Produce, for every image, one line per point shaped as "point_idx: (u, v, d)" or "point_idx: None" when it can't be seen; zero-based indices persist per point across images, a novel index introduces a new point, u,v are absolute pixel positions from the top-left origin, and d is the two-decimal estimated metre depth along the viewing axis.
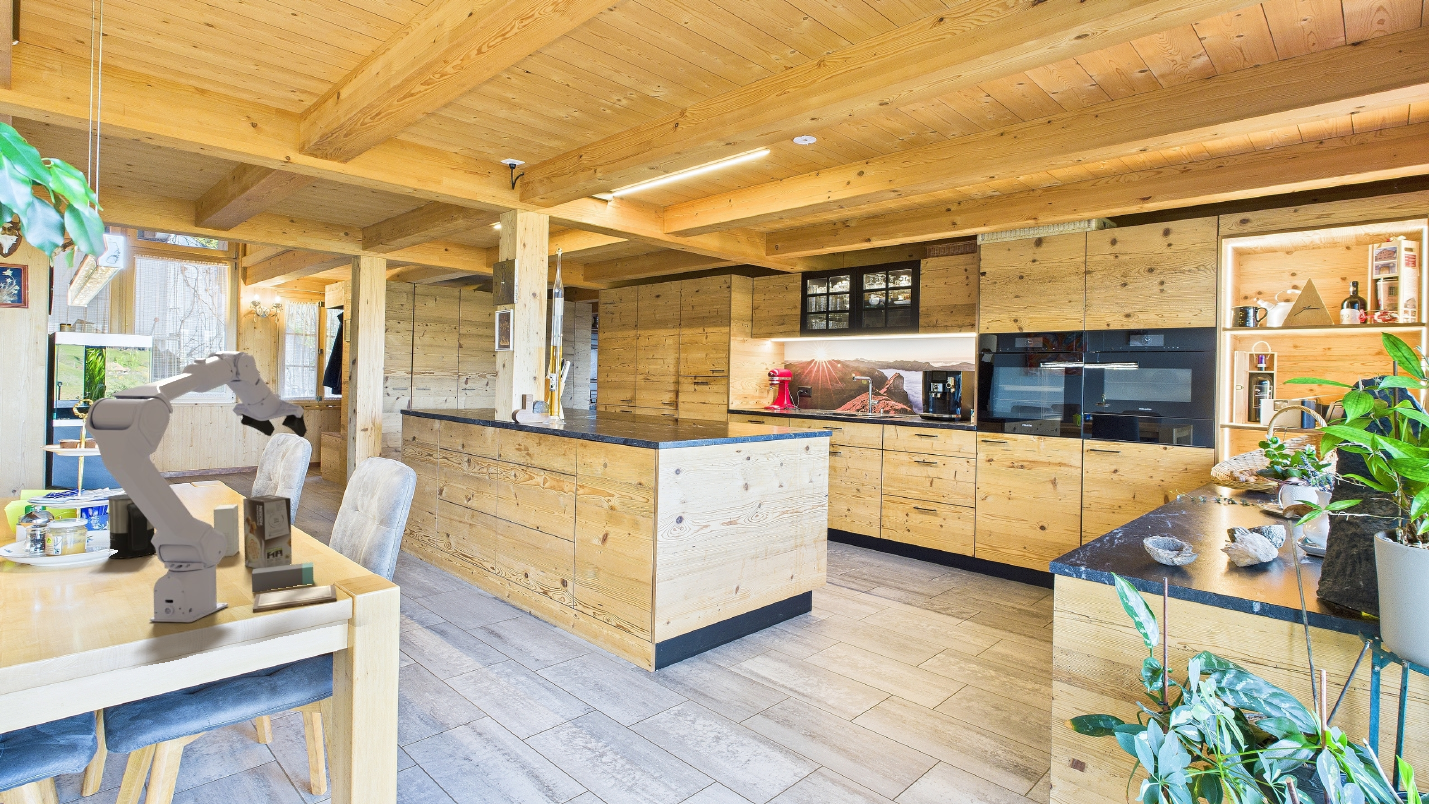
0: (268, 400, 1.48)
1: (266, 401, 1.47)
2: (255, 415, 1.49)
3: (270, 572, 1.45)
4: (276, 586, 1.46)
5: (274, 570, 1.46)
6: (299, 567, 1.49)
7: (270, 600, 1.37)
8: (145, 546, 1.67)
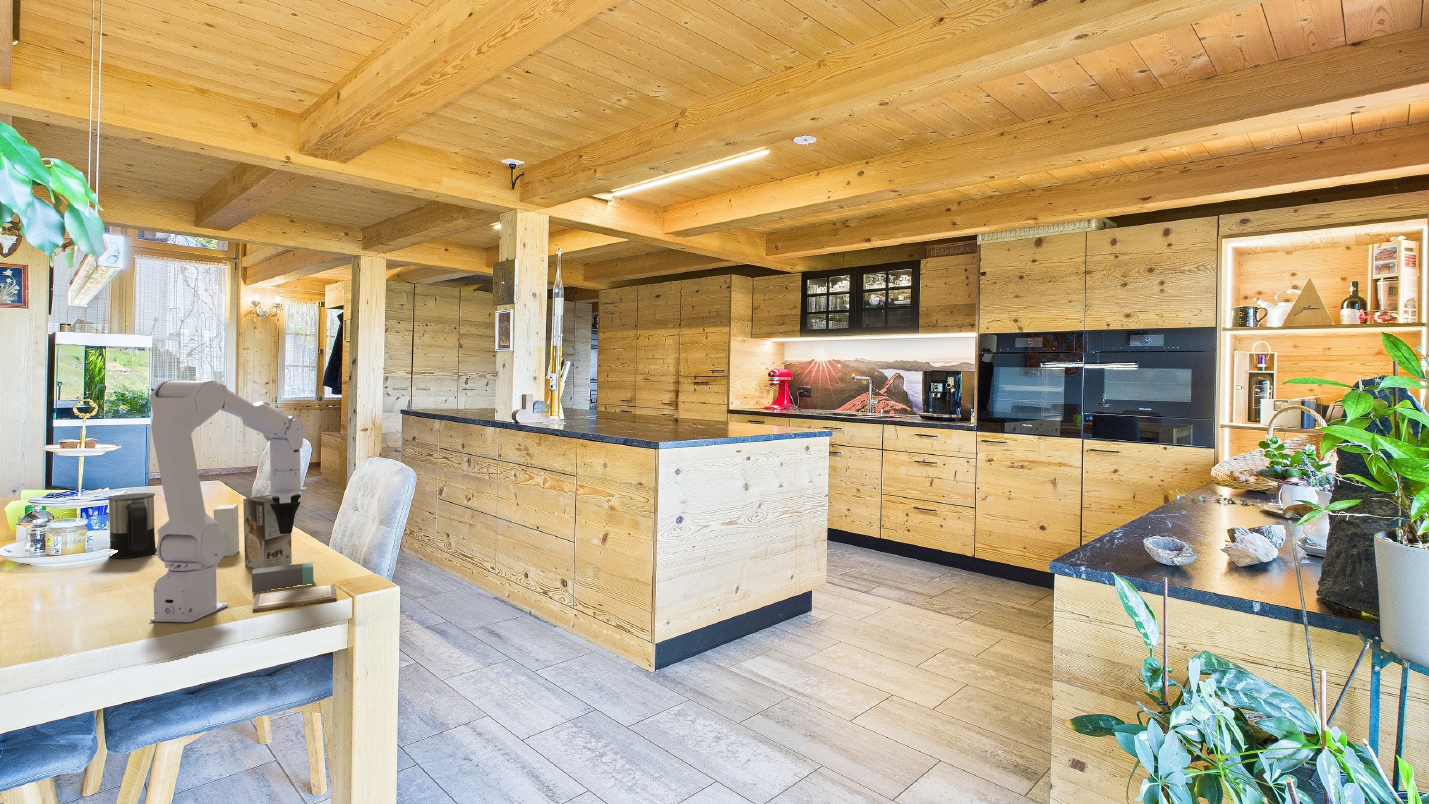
0: (281, 475, 1.52)
1: (278, 474, 1.52)
2: None
3: (270, 572, 1.45)
4: (276, 586, 1.46)
5: (274, 570, 1.46)
6: (299, 567, 1.49)
7: (270, 600, 1.37)
8: (145, 546, 1.67)
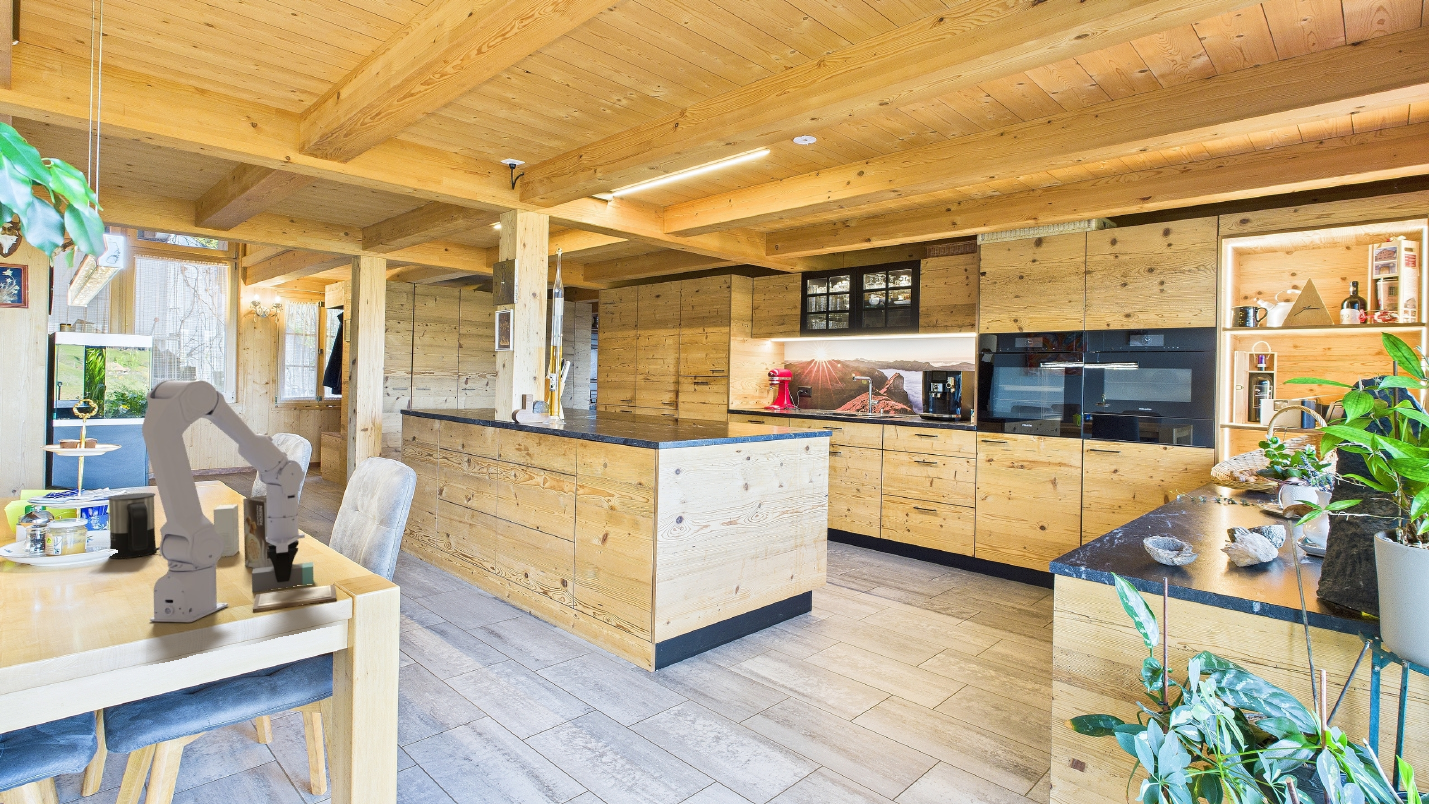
0: (278, 522, 1.45)
1: (275, 521, 1.45)
2: None
3: (270, 572, 1.45)
4: (276, 586, 1.46)
5: None
6: (299, 567, 1.49)
7: (270, 600, 1.37)
8: (145, 546, 1.67)
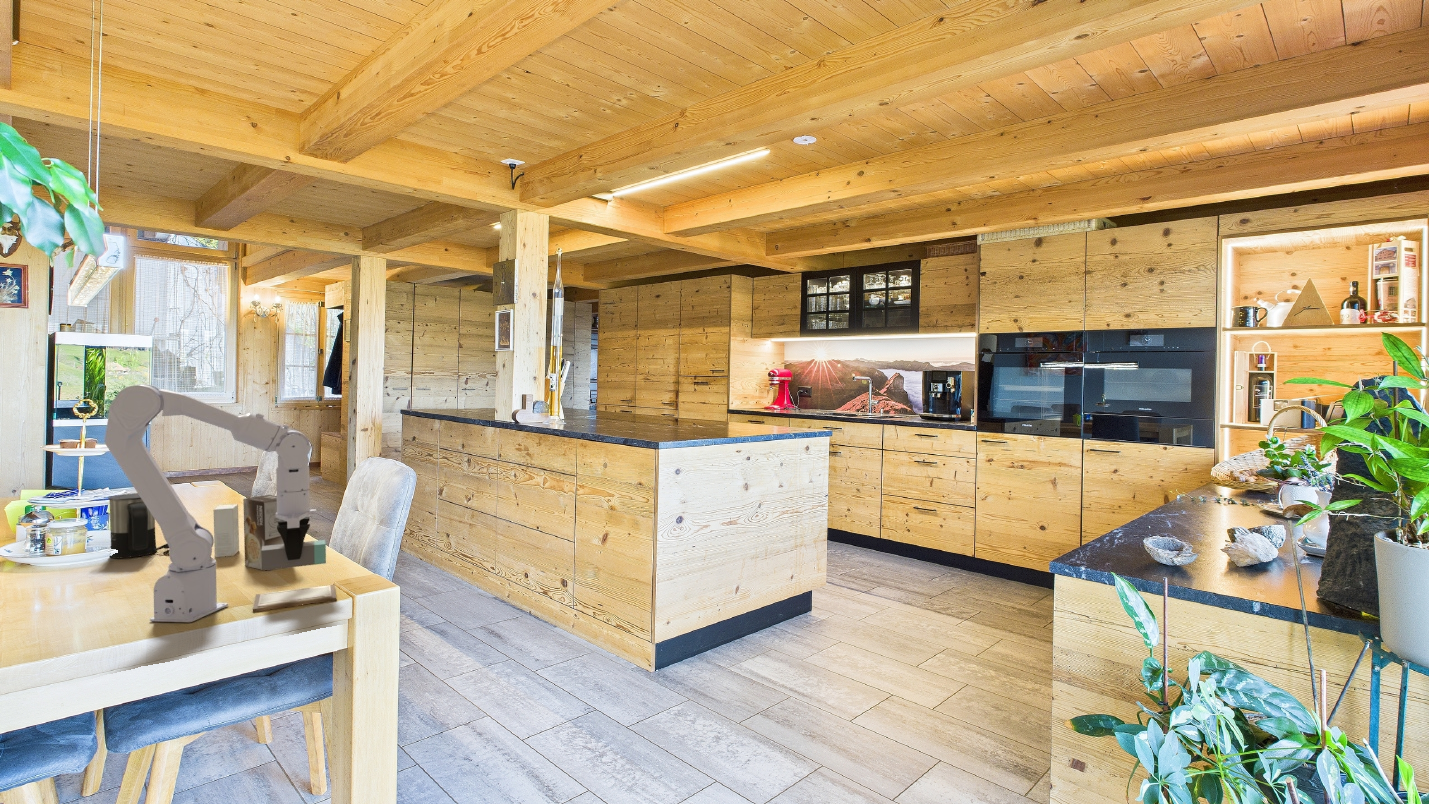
0: (288, 496, 1.37)
1: (286, 496, 1.37)
2: None
3: (280, 549, 1.38)
4: (287, 564, 1.38)
5: None
6: (311, 544, 1.41)
7: (270, 600, 1.37)
8: (145, 546, 1.67)
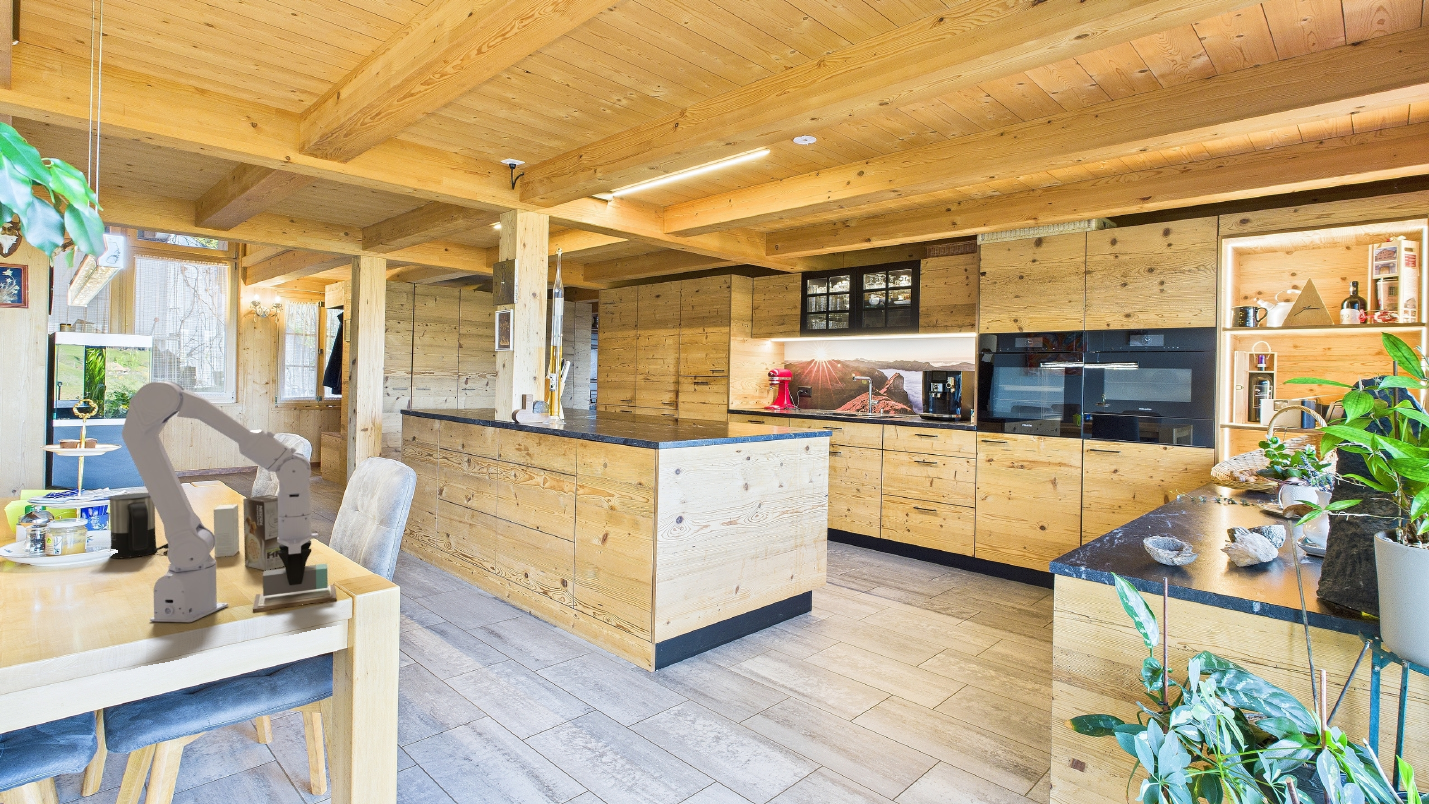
0: (290, 521, 1.37)
1: (287, 521, 1.37)
2: None
3: (282, 574, 1.37)
4: (288, 589, 1.38)
5: None
6: (312, 569, 1.40)
7: (270, 600, 1.37)
8: (146, 546, 1.68)
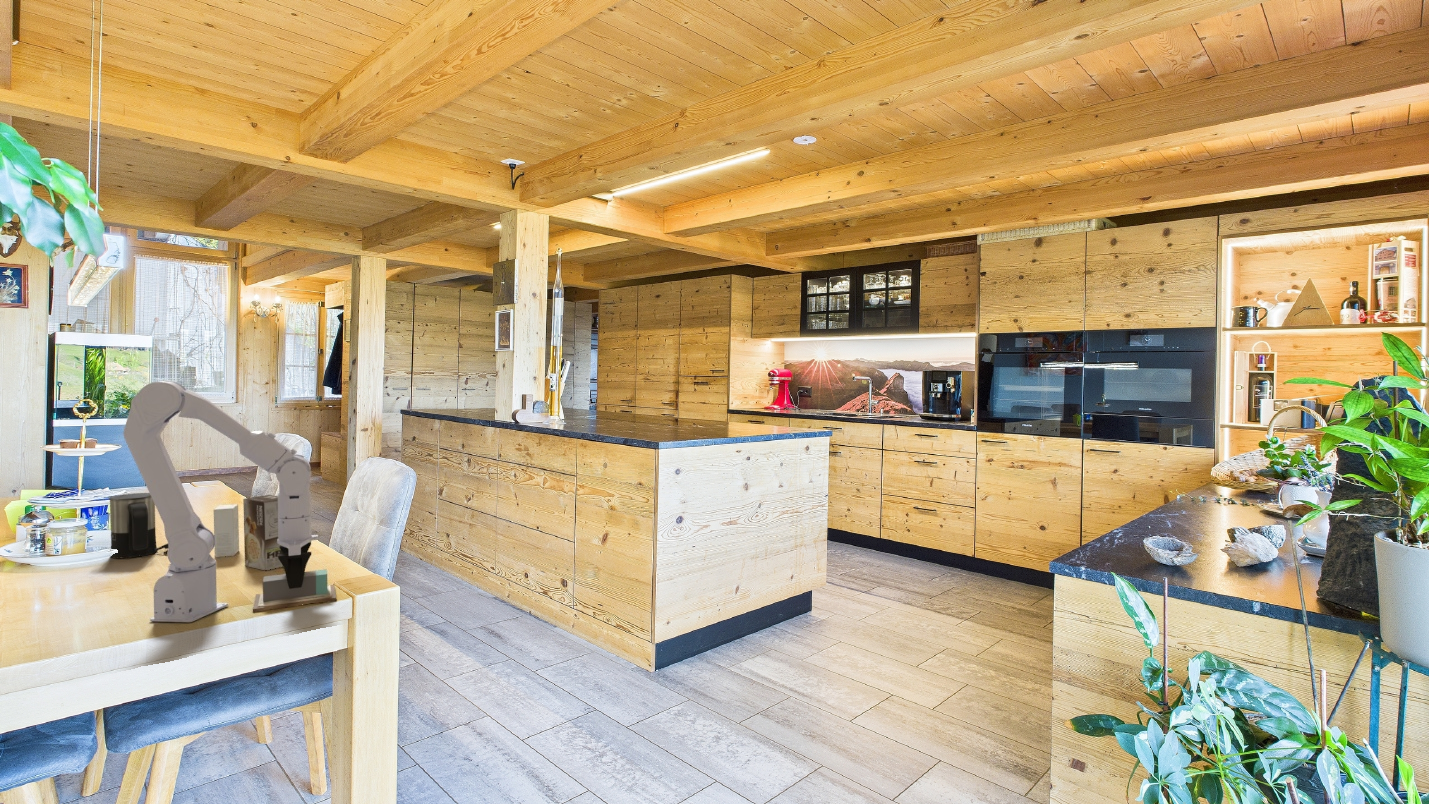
0: (290, 523, 1.37)
1: (287, 522, 1.37)
2: None
3: (282, 580, 1.37)
4: (288, 595, 1.38)
5: (286, 578, 1.38)
6: (312, 574, 1.40)
7: None
8: (146, 546, 1.68)
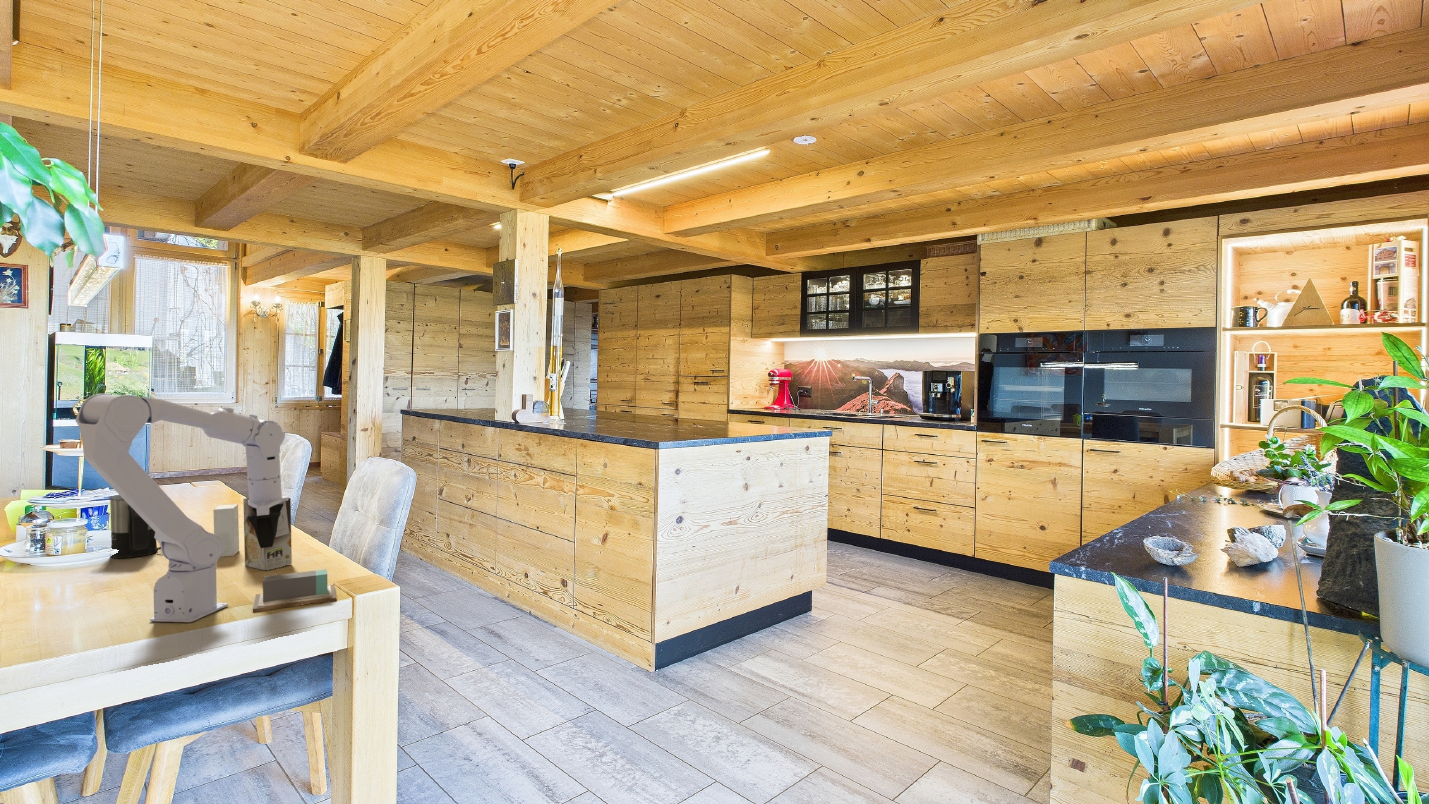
0: (259, 484, 1.40)
1: (256, 483, 1.40)
2: None
3: (282, 580, 1.37)
4: (288, 595, 1.38)
5: (286, 578, 1.38)
6: (312, 574, 1.40)
7: None
8: (146, 546, 1.68)
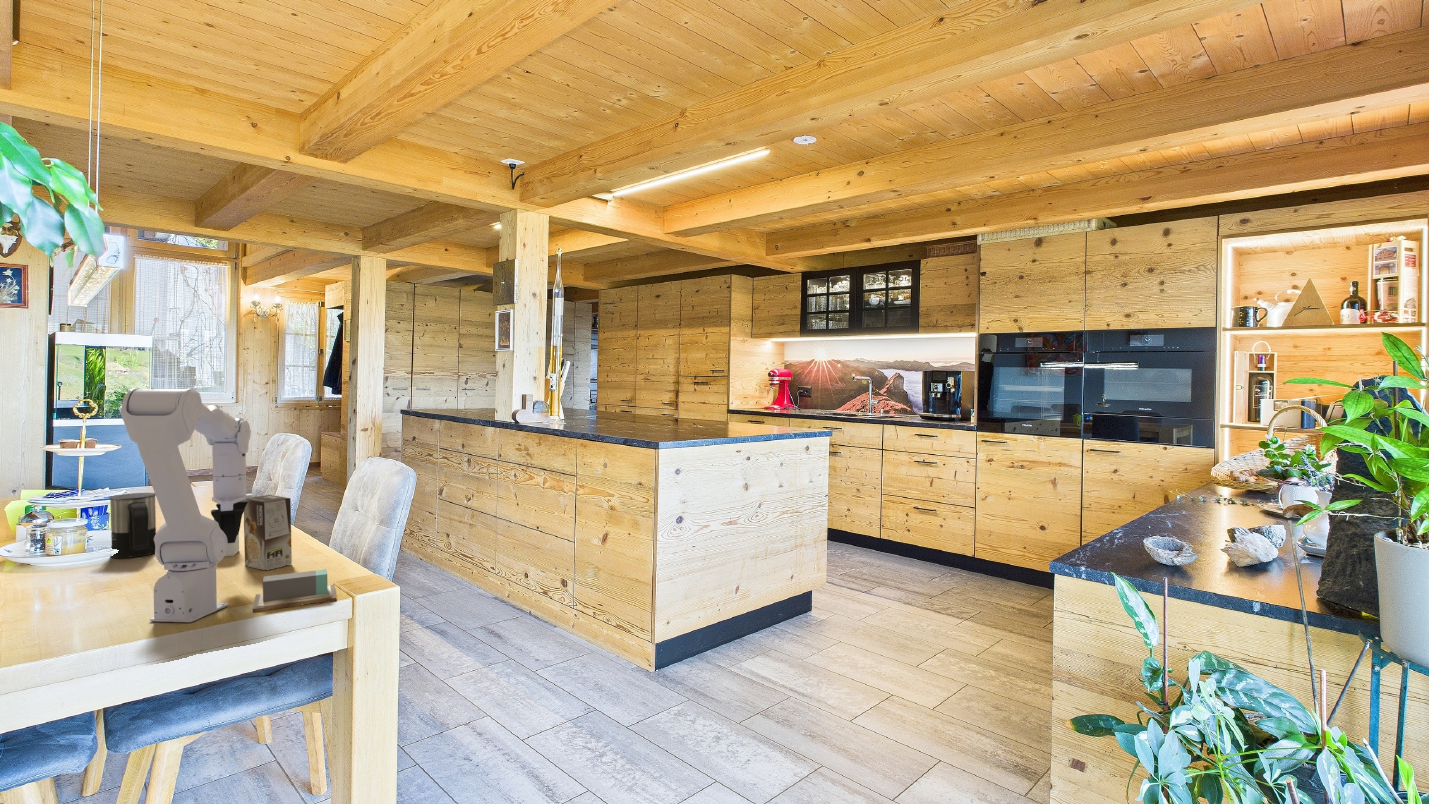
0: (224, 481, 1.43)
1: (221, 480, 1.43)
2: None
3: (282, 580, 1.37)
4: (288, 595, 1.38)
5: (286, 578, 1.38)
6: (312, 574, 1.40)
7: None
8: (146, 546, 1.68)
